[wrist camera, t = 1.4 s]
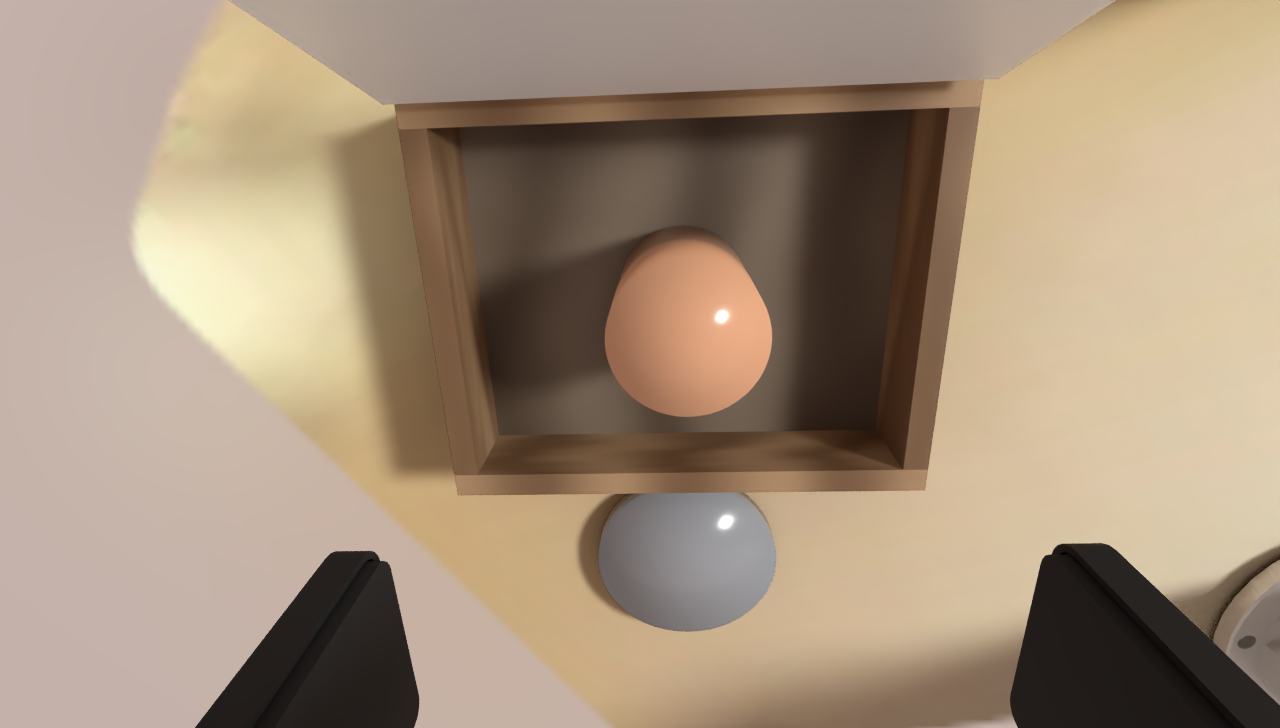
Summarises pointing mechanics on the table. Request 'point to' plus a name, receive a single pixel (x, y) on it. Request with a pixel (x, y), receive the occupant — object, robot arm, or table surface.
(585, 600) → the table surface
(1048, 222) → the table surface
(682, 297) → the peach rounded knob
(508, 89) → the lid
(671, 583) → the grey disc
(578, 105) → the wooden box
